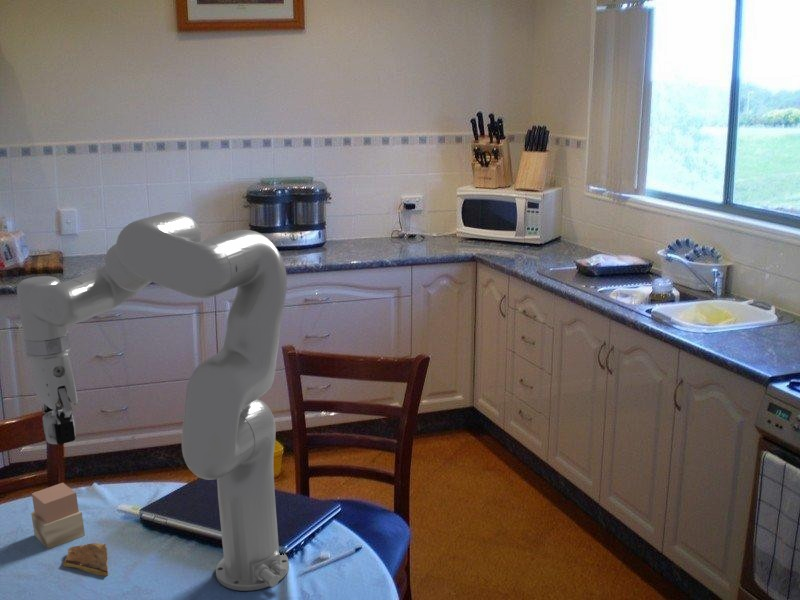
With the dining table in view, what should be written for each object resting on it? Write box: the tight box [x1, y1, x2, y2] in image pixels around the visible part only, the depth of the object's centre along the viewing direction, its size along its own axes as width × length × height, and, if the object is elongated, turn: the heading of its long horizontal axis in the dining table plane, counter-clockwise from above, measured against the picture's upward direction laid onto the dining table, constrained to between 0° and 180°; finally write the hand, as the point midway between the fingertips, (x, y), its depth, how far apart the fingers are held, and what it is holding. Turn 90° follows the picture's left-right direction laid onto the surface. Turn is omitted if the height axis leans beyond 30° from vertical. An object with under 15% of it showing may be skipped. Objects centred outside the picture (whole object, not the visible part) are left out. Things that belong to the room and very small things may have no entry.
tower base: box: [30, 509, 86, 550], centre depth 166 cm, size 7×7×5 cm
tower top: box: [31, 482, 80, 524], centre depth 165 cm, size 6×6×4 cm
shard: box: [62, 542, 109, 577], centre depth 156 cm, size 11×8×2 cm
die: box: [42, 409, 77, 445], centre depth 163 cm, size 5×5×5 cm
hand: (60, 435), depth 163 cm, fingers closed on die, 5 cm apart
